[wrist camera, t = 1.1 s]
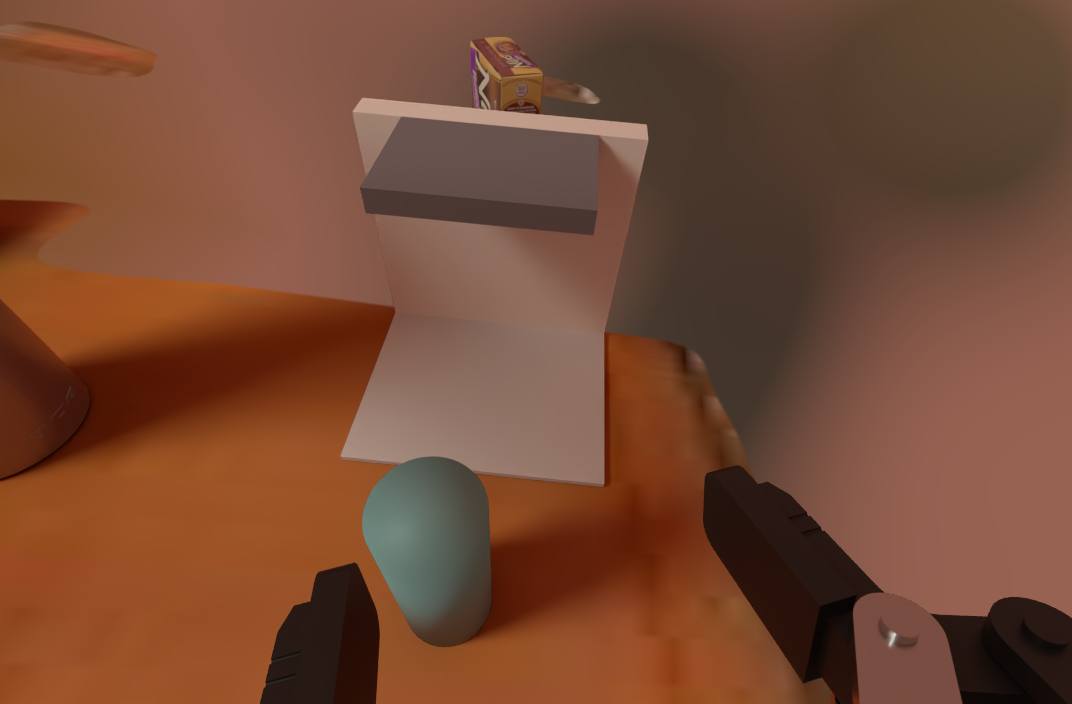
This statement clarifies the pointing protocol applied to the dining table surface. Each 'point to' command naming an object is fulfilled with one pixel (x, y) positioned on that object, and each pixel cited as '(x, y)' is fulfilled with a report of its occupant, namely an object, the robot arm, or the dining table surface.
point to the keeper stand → (494, 285)
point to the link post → (433, 546)
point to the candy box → (504, 77)
